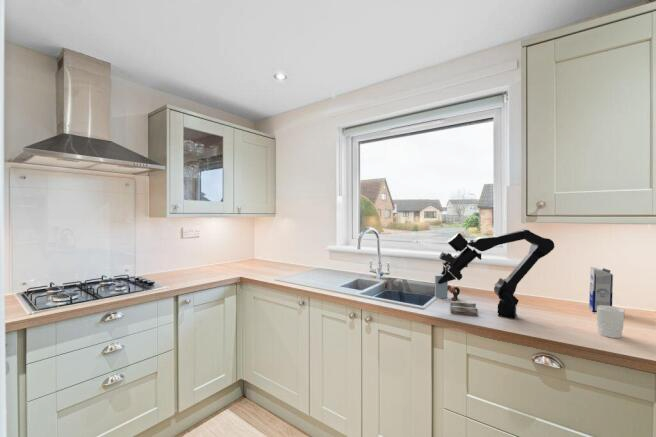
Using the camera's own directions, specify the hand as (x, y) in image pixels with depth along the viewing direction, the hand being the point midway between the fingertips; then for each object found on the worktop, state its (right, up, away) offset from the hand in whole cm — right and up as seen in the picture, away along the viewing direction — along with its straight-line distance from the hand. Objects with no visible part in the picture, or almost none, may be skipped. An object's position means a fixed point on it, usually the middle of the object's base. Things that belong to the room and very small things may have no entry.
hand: (437, 282), depth 148 cm
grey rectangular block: (+1, -7, 0) cm, 7 cm away
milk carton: (+74, -14, 0) cm, 76 cm away
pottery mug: (+13, -13, +20) cm, 28 cm away
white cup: (+55, -15, -27) cm, 63 cm away
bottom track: (+12, -13, +1) cm, 18 cm away
